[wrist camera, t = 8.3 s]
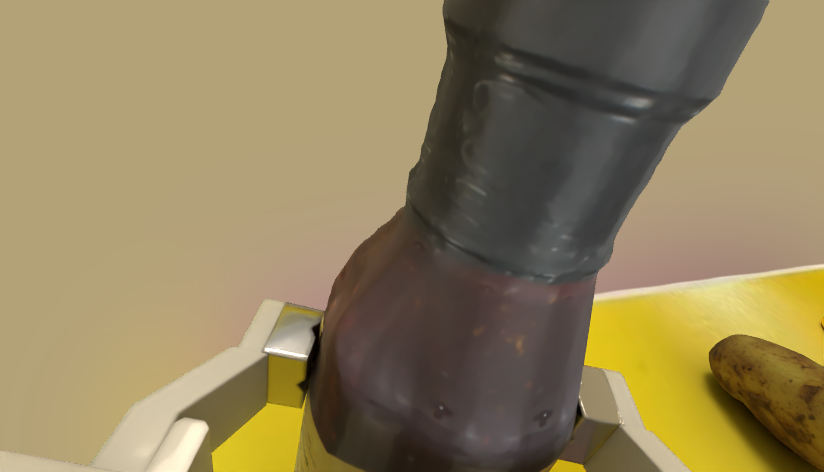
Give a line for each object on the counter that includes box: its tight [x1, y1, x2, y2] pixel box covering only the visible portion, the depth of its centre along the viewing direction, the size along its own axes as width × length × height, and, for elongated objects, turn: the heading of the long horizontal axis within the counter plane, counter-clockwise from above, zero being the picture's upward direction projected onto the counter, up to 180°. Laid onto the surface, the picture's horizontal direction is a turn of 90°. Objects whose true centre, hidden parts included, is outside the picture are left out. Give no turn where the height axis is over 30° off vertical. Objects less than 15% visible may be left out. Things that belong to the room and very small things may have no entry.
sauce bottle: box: [294, 0, 769, 472], centre depth 11 cm, size 7×6×20 cm
